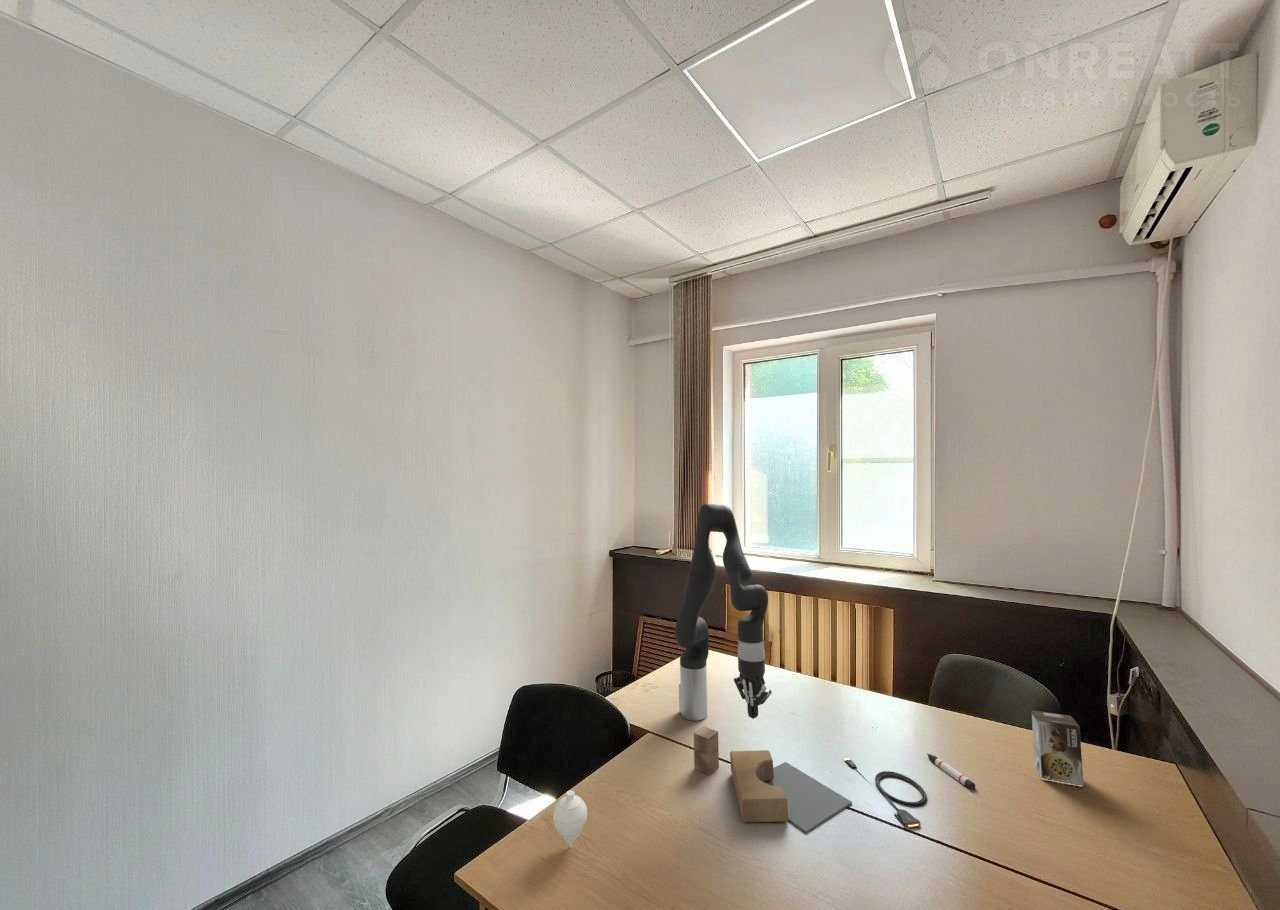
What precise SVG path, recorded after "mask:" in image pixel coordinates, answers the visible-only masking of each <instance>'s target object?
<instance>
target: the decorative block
mask: <svg viewBox="0 0 1280 910" xmlns="http://www.w3.org/2000/svg"><path fill="white" fill-rule="evenodd" d="M729 756H730V757H729V759H730V771H731V775H732V780H733V781H732V782H733V785H734V790H735V794H736V799H737V803H738V808H739V813H740V817H741V821H742V822H743V823H770V822H771V823H775V822H777V823H780V822H781V823H782V822H789V821H788V808H787V799H786V796H785V793H784V790H783V788H782V787H778V786H771V785H769V784H766V783H764V781H769V780H773V779H774V772H773V768H774V760H773V757H772V754H771V752H770V750H738V751H737V750H735V751H730V752H729Z"/></svg>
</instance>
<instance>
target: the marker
mask: <svg viewBox="0 0 1280 910" xmlns="http://www.w3.org/2000/svg"><path fill="white" fill-rule="evenodd" d="M926 754H927V757H928V759H929V760H930V761H931V762H932V764H934V765H935V766H937V767H938V768H940V769H941V770H943V771H944V772H945V773H947V774H948V775H949V776H951V777H952V778H953V777H954V778H953V779H954V780H956V781H957V782H959V783H960V782H961V783H960V784H961V785H963V786H964V785H965V787H966V788H967V787H968V789H969V790H970V789H972V788H975V789H976V784H975V782H973V781H972V780H971V779H969V778H968V777H966V776H965V775H964V774H962V773H960V772H959V771H958V770H957V769H955V768H953V767H952V766H950V765H949V764H948V763H946V762H945V761H943V760H942V759H941V758H940V757H937V756H936V755H932V754H930V753H928V752H927V753H926ZM972 790H973V789H972Z"/></svg>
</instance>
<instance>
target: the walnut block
mask: <svg viewBox="0 0 1280 910" xmlns="http://www.w3.org/2000/svg"><path fill="white" fill-rule="evenodd" d="M719 749H720V748H719V731H717V730H715V729H712V728H710V727H707V726H705V725H703V726H701V727H700V728H698V729H697V730H696V731H694V732H693V753H694V754H693V759H694V761H693V763H694V764H693V765H694V770H697V771H699V772H700V773H703V774H705V775H707V776H711V774H713V773H714V772H715V771H717V770H718V769H719V768H720V765H719V764H720V758H719V756H720V755H719Z"/></svg>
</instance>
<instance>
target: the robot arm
mask: <svg viewBox="0 0 1280 910" xmlns="http://www.w3.org/2000/svg"><path fill="white" fill-rule="evenodd" d="M697 515H698V516H697V522H696V528H695V529H696V531H695V538H694V545H693V552H692V555H691V562H690V565H689V570H688V575H687V580H686V585H685V586H686V587H685V591H684V594H683V600H682V604H681V607H680V611H679V614H678V618H677V621H676V623H675V629H674V638H675V641H676V643H677V645H679V647H681V648H684V651H683V652H682V654H681V655H680V657H679V675H680V676H679V677H680V680H679V681H680V683H679V685H678V704H679V709H678V710H679V711H678V712H679V713H680V715H681V717H682V718H683V719H685V720H688V721H693V722H695V721H702V720H704V719H706V718H707V717H708V685H707V684H708V683H707V681H708V680H707V678H708V677H707V660H708V658H709V652H710V651H709V650H710V649H709V647H710V646H709V645H710V640H709V638H710V633H709V626H708V624H707V622H706V621H705V619H704V618H703V617H701V616H699V615H700V613H701V610H702V608H703V607H704V605H705V603H706V602H707V600H708V599H709V597H710V595H711V594H712V591H713V589H714V585H715V582H716V576H717V565H716V562H715V560H714V557H713V554H712V551H711V550H710V545H709V544H710V543H709V542H710V535H711V533H712V532H713V533H722V534H723V535H724V536H725V539H726V541H725V546H724V549H723V552H722V563H723V567H724V569H725V572H726V574H727V577H728V580H729V581H728V582H729V587H730V601H731V604H732V607H733V608H734V609H735V610H736V611H739V612H748V611H750V613H749V614H748V615H747V616H743V617H741V618H740V619H739V620H738V622H737V636H738V637H737V638H738V639H737V640H738V641H737V665H738V667H737V668H738V672H739V676H737V677H734V678H733V681H734V685H736V686H735V687H736V689H737V690H738V692H739V695H740V697H741V699H742V700H745V702H746V705H747V710H746V711H747V715H748V717H749V718H751V719H752V720H754V719H757V718H758V716H759V707H760V706H761V705H764V703H766V701H767V700H768V698H769V697H770V696H771V695H772V690H771V689H770V688H769V689H768V688H767V686H766V681H765V678H764V675H765V674H766V661H765V660H766V659H765V658H766V657H765V656H766V655H765V644H764V629H763V628H764V623H765V622H764V621H765V617H766V612H767V610H768V604H769V594H768V591H767V590H766V588H765V587H764V586H763V585H761V584H748V585H745V584H747V583H749V582H750V581H751V580H752V576H753V573H752V571H751V568H750V565H749V563H748V561H747V558H746V557H745V554H744V553H745V552H743V549H742V544H741V540H740V535H739V531H738V528H737V523H736V518H735V515H734V513H733V511H732V509H731V507H730V506H728V505H724V504H714V503H704V504H702V505H701V506H700V509H699V511H698V514H697Z"/></svg>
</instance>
